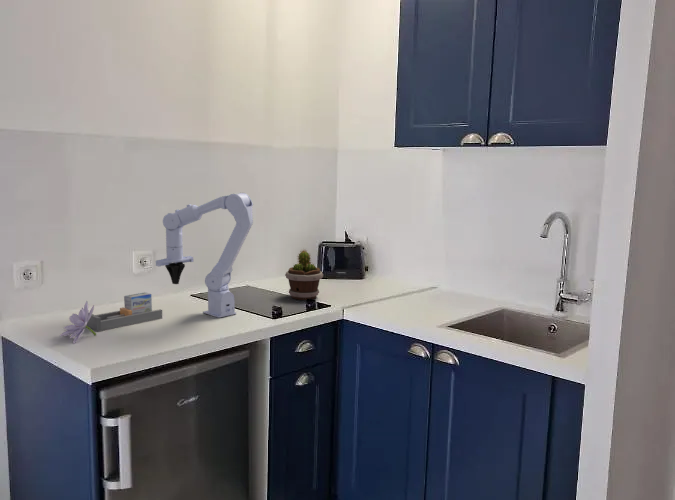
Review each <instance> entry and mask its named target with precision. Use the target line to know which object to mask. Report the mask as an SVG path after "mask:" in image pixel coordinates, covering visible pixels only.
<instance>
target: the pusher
mask: <svg viewBox="0 0 675 500" xmlns="http://www.w3.org/2000/svg"><path fill="white" fill-rule="evenodd" d="M119 311H120V315H116V316H111V317H107V319H112V318H117V317H123V316H128V315H132V310H129V309H126V308H125V307H120V308H119Z"/></svg>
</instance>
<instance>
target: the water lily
mask: <svg viewBox="0 0 675 500" xmlns="http://www.w3.org/2000/svg"><path fill="white" fill-rule="evenodd" d="M94 309H95V305H94V304H93V305H92V307H91V308H90V310H89V304H88V301H87V300H86V301H85V303H84V306H83V307H81V309H79V312H78V314H77V313H72V314H71V315H70V316H69V318H68V319H69V321H70V322H71V323H72V324H70V325H66V326H64V327H62V328H63V329H64V331H63V332H62V333H61V334H60V335H59V337H64V336H65V337H69V336H70V337H69V339H71V338H73V337H74V339H73V341H72V343H73V344H76V342H78V341H79V339H80V338H81V337H82V336H83V334H84V331H85V329H87V330H88V331H89V332H90V333H92V335H93V336H97V333H96V331H95V330H93V329H90V328H89V327H88V326H86V325H87V322H88V321H89V319H90V318H91V315H92V314H93V312H94ZM88 315H89V316H88Z"/></svg>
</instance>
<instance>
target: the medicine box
mask: <svg viewBox="0 0 675 500" xmlns="http://www.w3.org/2000/svg"><path fill="white" fill-rule="evenodd" d="M123 298H124V302H123V303H124V308H126V309H129V310H132V315H133V314H138V313H144V312H149V311H153V304H152V303H153V300H152V299H153V298H152V294H151V293H149V292H138V293H134V294H127V295H124V296H123Z"/></svg>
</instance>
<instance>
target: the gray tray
mask: <svg viewBox="0 0 675 500" xmlns="http://www.w3.org/2000/svg"><path fill="white" fill-rule="evenodd" d="M116 315H120V310H115V311H111V312H105V313H100V314H93V313H92V315H91V318H90V319H89V321H88V322H87V325H86V326H88V327H89V328H90V329H92V330H93V331H94V332H103V331H108V330H112V329H113V330H114V329H117V328H121V327H127V326H131V325H137V324H141V323H146V322H153V321H157V320H161V319H163V309H156V310H155V309H154V310H152V311H149V312H144V313H138V314H133V315H128V316H123V317H117V318H112V319H107V317H111V316H116ZM88 316H89V315H88Z"/></svg>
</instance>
